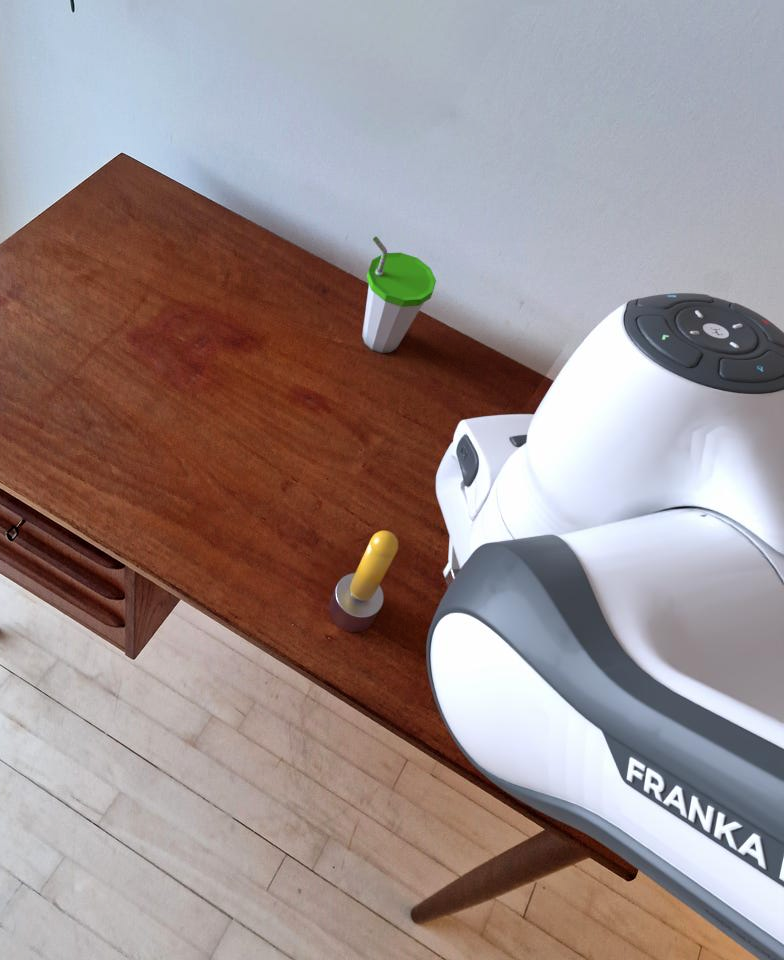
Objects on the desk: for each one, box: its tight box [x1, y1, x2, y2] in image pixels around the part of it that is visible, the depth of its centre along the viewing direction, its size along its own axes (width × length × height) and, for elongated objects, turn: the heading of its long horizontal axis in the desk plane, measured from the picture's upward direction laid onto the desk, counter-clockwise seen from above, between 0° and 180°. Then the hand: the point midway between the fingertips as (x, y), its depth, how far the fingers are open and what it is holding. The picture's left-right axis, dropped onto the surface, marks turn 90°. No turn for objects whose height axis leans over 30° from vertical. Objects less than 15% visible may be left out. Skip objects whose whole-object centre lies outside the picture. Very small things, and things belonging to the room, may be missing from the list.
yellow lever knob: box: [328, 530, 399, 633], centre depth 76 cm, size 5×5×14 cm
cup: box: [361, 236, 437, 354], centre depth 97 cm, size 8×8×15 cm
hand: (475, 643), depth 57 cm, fingers open, 8 cm apart
